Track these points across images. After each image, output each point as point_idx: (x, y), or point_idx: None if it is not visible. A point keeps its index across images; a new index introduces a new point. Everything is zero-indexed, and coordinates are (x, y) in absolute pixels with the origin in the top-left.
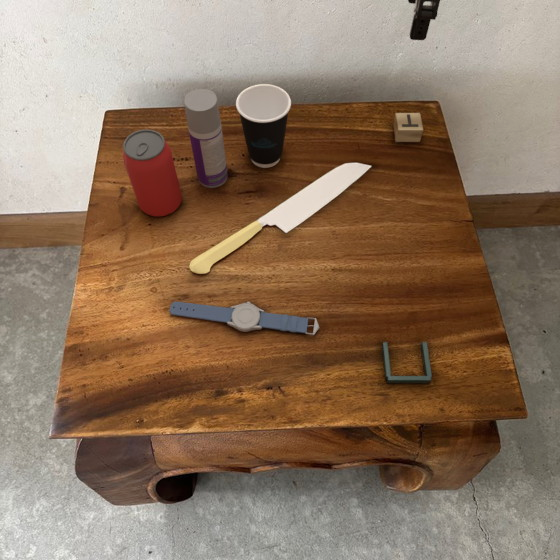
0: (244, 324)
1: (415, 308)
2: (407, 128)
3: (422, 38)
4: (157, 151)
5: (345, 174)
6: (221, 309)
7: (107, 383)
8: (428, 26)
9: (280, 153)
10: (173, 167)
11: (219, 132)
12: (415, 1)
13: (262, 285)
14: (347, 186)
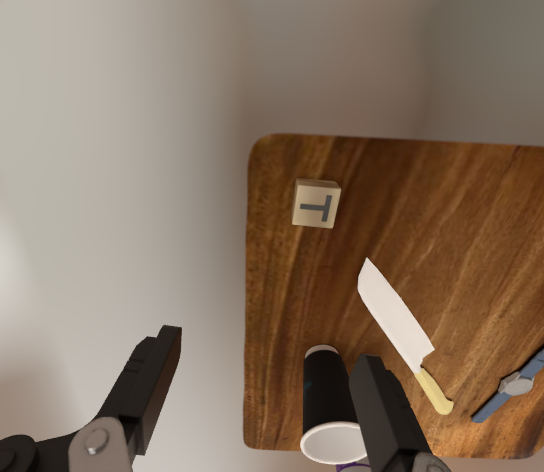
0: (526, 388)
1: None
2: (331, 214)
3: (389, 373)
4: None
5: (375, 290)
6: (498, 397)
7: (512, 443)
8: (396, 398)
9: (338, 359)
10: None
11: (369, 467)
12: (178, 346)
13: (484, 368)
14: (392, 289)
